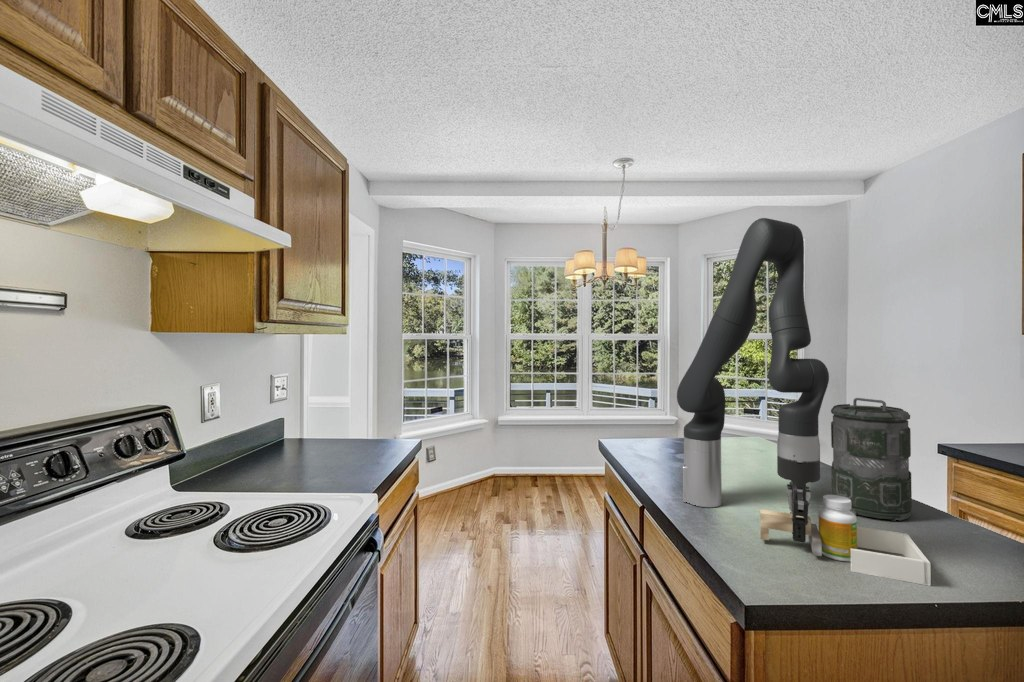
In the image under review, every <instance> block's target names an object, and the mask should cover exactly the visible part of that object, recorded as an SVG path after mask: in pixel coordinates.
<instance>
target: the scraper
mask: <svg viewBox="0 0 1024 682" xmlns="http://www.w3.org/2000/svg"><path fill="white" fill-rule="evenodd" d="M796 517H801V518H803V516H796ZM791 518H792V514H790V512H789V513H786V512H780V511H776V510H775V511H774V510H767V509H761V508H760V540H764V541H769V540H770V539H769V538H770V535H769V533H770V530H775V531H780V532H781V531H782V532H788V533H792V532H793V523H792V521H791ZM806 536H808V541H809V544H810V545H809V546H810V548H811V553H812V555H813V556H818V557H822V555H823V554H822V545H821V538H820V535H819V527H818V525H817V524H816V523H812V518H811V516H809V515H808V523H807V525H806Z"/></svg>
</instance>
